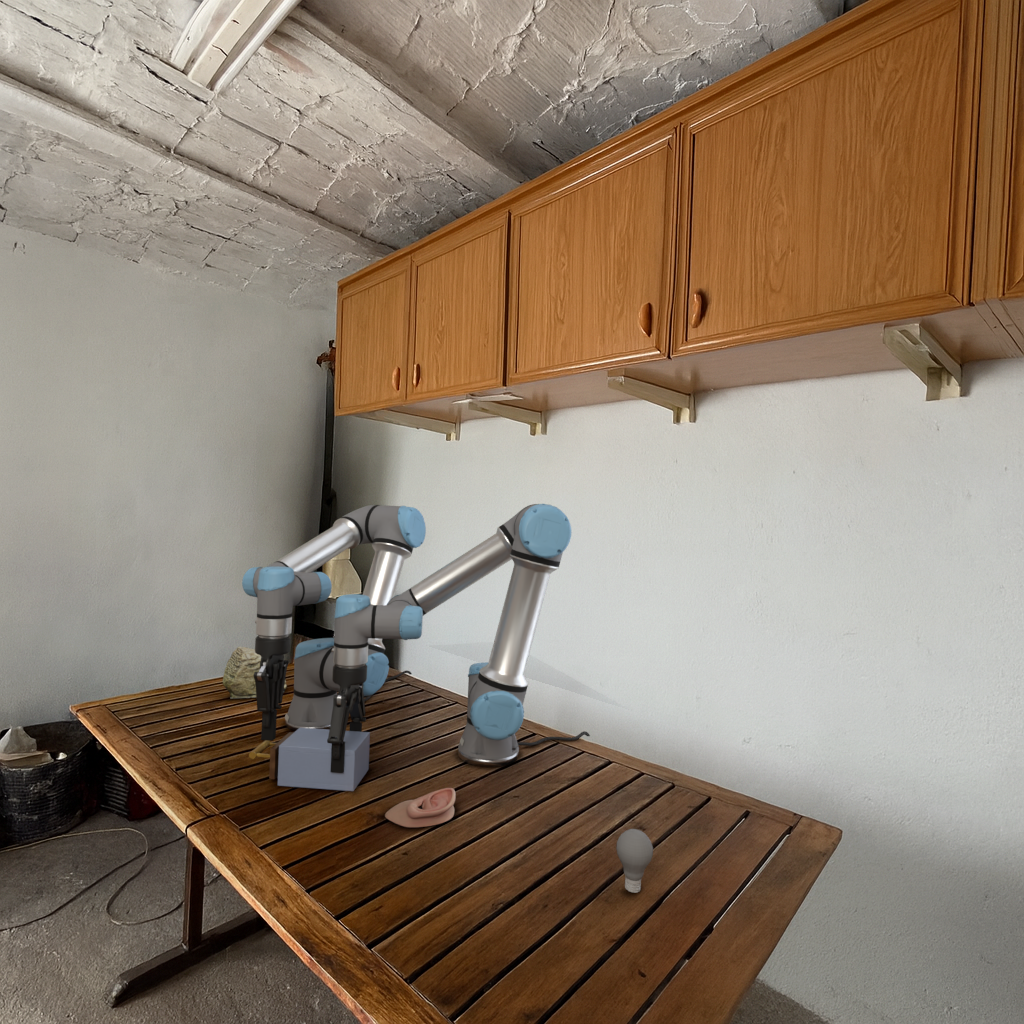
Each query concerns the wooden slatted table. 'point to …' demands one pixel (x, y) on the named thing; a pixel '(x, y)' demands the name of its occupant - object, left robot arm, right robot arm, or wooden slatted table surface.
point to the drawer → (273, 754)
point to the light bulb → (634, 857)
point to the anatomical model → (424, 809)
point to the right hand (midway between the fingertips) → (346, 760)
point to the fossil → (242, 673)
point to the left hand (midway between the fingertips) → (268, 739)
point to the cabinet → (322, 760)
